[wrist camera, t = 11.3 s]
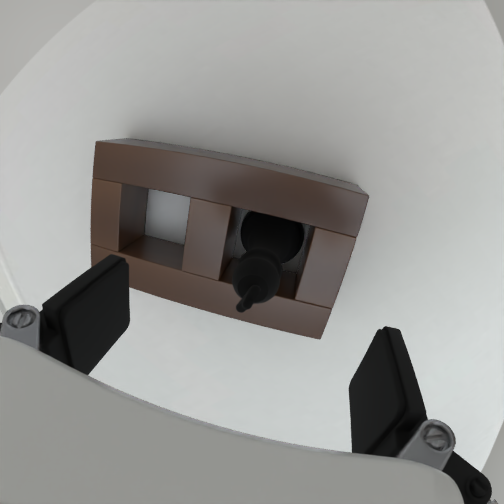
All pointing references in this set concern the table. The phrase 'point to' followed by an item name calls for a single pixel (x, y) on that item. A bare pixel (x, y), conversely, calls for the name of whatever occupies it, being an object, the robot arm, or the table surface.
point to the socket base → (223, 228)
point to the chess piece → (264, 256)
